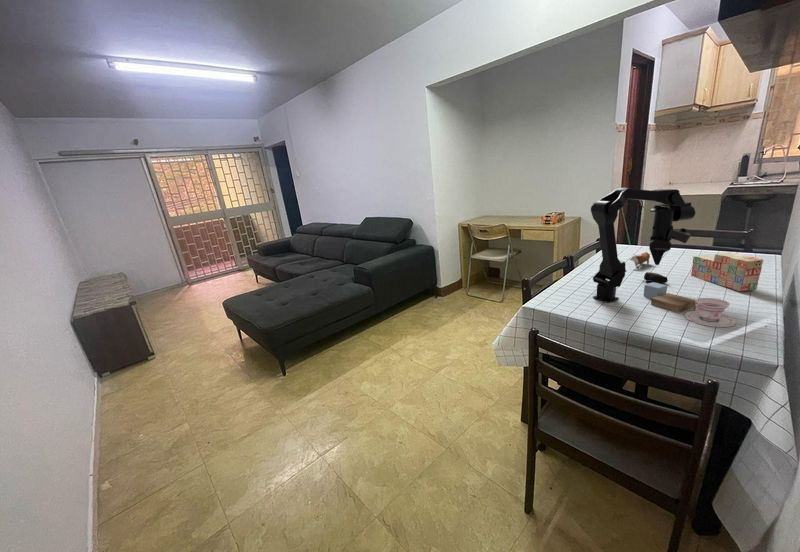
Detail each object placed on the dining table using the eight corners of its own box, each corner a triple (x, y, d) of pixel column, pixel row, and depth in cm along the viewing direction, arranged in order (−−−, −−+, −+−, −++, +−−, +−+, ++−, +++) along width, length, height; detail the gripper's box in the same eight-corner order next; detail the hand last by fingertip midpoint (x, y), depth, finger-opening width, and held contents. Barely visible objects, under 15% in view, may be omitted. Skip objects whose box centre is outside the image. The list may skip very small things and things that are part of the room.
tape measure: (650, 283, 134) (653, 275, 133) (639, 279, 141) (641, 271, 140) (666, 285, 134) (669, 277, 133) (653, 280, 141) (656, 272, 140)
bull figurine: (626, 270, 157) (627, 254, 155) (642, 264, 162) (644, 249, 160) (635, 271, 153) (637, 255, 151) (652, 266, 158) (654, 250, 156)
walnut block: (677, 313, 110) (678, 305, 109) (650, 305, 118) (651, 298, 118) (694, 307, 113) (696, 300, 112) (667, 300, 121) (668, 293, 120)
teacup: (709, 310, 109) (712, 293, 107) (747, 325, 98) (751, 307, 96) (675, 314, 109) (677, 298, 108) (708, 330, 98) (711, 311, 96)
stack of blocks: (690, 276, 140) (694, 249, 137) (704, 274, 140) (708, 247, 137) (740, 291, 120) (747, 260, 116) (757, 289, 120) (764, 258, 116)
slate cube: (656, 300, 121) (658, 288, 120) (643, 296, 126) (644, 284, 124) (665, 297, 123) (667, 285, 121) (652, 293, 127) (653, 282, 126)
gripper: (692, 226, 109) (685, 270, 113) (689, 219, 123) (682, 258, 127) (652, 226, 116) (646, 267, 120) (653, 219, 130) (648, 256, 134)
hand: (657, 262), depth 125 cm, fingers open, 9 cm apart
